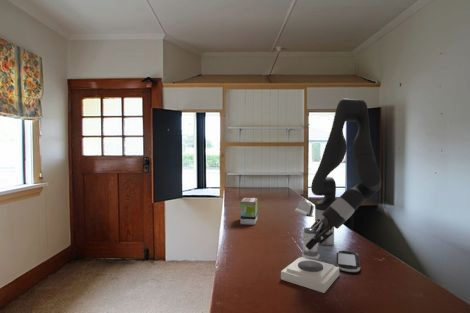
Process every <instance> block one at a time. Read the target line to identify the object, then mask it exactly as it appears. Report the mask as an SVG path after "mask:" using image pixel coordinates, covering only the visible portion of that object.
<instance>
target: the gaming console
mask: <svg viewBox="0 0 470 313" xmlns="http://www.w3.org/2000/svg"><path fill="white" fill-rule="evenodd" d="M335 259H336V260H335V265H336V267H339V272H343V273H348V274H349V273H350V274H354V273H355V274H357V273H358V272H360V270H361V262H360V257H359V254H358V253H356V252H355V251H347V250H339V251H338V252H336V256H335Z"/></svg>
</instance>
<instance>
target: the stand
mask: <svg viewBox="0 0 470 313" xmlns="http://www.w3.org/2000/svg"><path fill="white" fill-rule="evenodd" d="M339 276H340V270H339V267H336V266H335V265H334V264H331V263H327V262H323V261H320V260H317V259H314V260H312V259H306V258H304V257H302V256H300V257H298V258H297V259H295V260H294V261H293V262H292V263H290V264H288V265H286V267H284V268H283V269H282V270H281V271H280V280H282V281H286V282H288V283H291V284H294V285H298V286H301V287H305V288H308V289H310V290H314V291H316V292H319V293H322V294H324V293H326V292H327V290H328V289H329V288H330V287H331V285H333V283H334V282H335V281H336V280H337V278H338V277H339Z"/></svg>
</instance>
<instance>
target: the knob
mask: <svg viewBox="0 0 470 313" xmlns="http://www.w3.org/2000/svg"><path fill="white" fill-rule="evenodd" d="M316 230H317V229H316V228H310V227H304V228H303V231H302V239H303V240H302V251H301V257H304V258H306V259H312V260H318V259H320V256H321V254H320V252H319V244H318V243H317V244H316V245H315V246H314V247H313V248H312V249H311V250H309V249H308V248H307V247H306V244H307V243H308V242H309V241H310V240H311V239H312V238H313V237H314V235H315V234H316V233H315V232H316Z"/></svg>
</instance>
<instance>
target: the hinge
mask: <svg viewBox="0 0 470 313" xmlns="http://www.w3.org/2000/svg"><path fill="white" fill-rule="evenodd" d="M314 210H315V205H314V204H312V203H311V202H308V201H307V200H301V201H299V202H298V205H297V207H296V208H295V210H294V212H295V213H298V214H300V215H302V216H305V217H307V215H308V216H311V217H312V216H313V213H314Z"/></svg>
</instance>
